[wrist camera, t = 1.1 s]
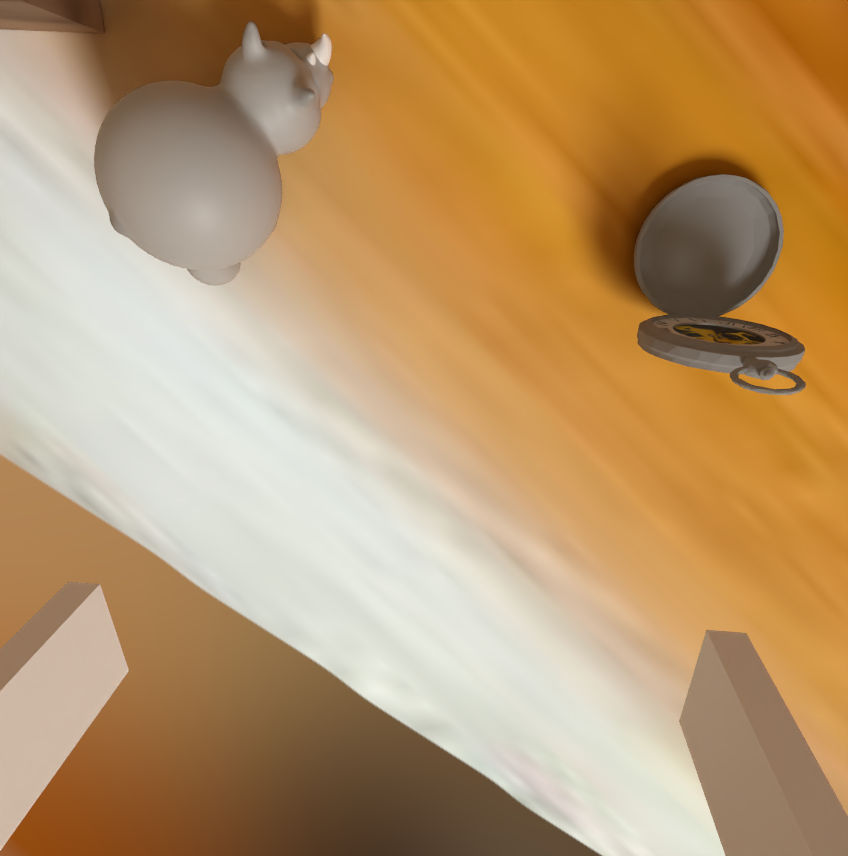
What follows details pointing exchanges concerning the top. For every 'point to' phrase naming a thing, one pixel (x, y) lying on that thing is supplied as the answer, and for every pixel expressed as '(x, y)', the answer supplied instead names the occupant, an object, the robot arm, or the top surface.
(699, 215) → the pocket watch
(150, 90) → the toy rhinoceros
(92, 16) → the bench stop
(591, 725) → the top surface
